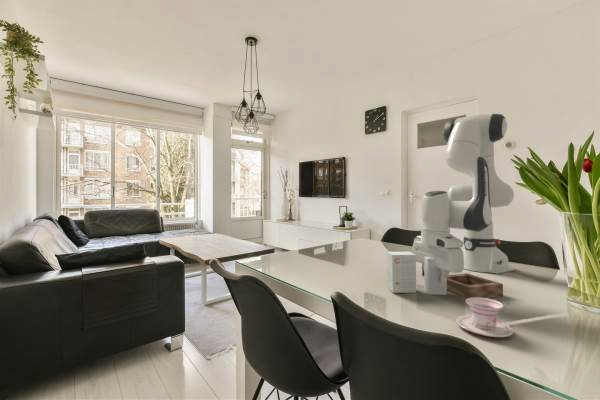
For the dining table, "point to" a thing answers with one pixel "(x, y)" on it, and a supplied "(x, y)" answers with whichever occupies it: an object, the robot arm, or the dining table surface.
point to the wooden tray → (473, 286)
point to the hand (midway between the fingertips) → (435, 279)
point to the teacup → (484, 318)
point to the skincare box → (433, 278)
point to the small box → (401, 272)
